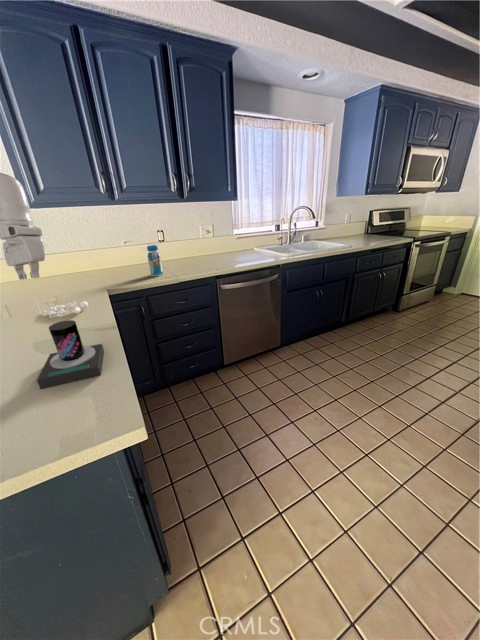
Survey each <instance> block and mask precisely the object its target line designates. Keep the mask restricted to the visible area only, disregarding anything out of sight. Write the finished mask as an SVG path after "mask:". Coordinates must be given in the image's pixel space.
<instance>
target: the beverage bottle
mask: <svg viewBox="0 0 480 640" xmlns="http://www.w3.org/2000/svg"><path fill="white" fill-rule="evenodd" d="M146 249H147V258H148V259H147V262H148V267H149V272H150V276H151V277H161V276H163V275H164V271H163V265H162V259H161V254H160V252H159V246H158V245H157V244H151V245H147V247H146Z"/></svg>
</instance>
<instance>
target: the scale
mask: <svg viewBox="0 0 480 640" xmlns="http://www.w3.org/2000/svg"><path fill="white" fill-rule="evenodd" d="M83 347H84V350H85V351H84V354H83V355H82V356H81V357H79V358H77V359H75V360H71V361H63V360H61V359H60V357H59V354H58V352H52V353H49V355H48V358H47V359H46V361H45V363H44V365H43V367H42V369H41V371H40V373H39V375H38V377H37V379H36V382H37V384H38V386H39V389H40V390H43V389H47V388H52V387H56V386H61V385H65V384H69V383H73V382H77V381H82V380H83V381H84V380H87V379H91V378H95V377H100V376H101V375H102V369H103V363H104V355H105V349H104V345H103V343H99V344H93V345H83Z"/></svg>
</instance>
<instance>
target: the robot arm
mask: <svg viewBox="0 0 480 640" xmlns="http://www.w3.org/2000/svg"><path fill="white" fill-rule="evenodd" d="M30 210H31V207H30V204H29V200H28V196H27V193H26V191H25V188H24V186H23V184H22V183H21V182H20V181H19V180H18V179H17V178H15V177H13V176H11V175H9V174H5V173H3V172H0V240H3V241H4V242H3V243H2V250H3V255H4V259H5V263H6V265H7V266H8V267H13V269H14V271H15V273H16V274H17V277H18V280H21V281H22V280H24V281H25V280H27V279H28V276H27V273H26V272H25V270H24V268H25V267H24V266H25V265H28V267H29V270H30V272H29V275H30V278H31V279H38V278H40V277H41V275H40V262H44V261H45V259H46V253H45V247H44V241H43V238H42V236H43V230H42V229H41V228H40V227H39V226H36V225H35V224H34V220H33V219H32V217H31V215H30V214H31V213H30V212H31V211H30Z"/></svg>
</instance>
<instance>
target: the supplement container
mask: <svg viewBox="0 0 480 640" xmlns="http://www.w3.org/2000/svg"><path fill="white" fill-rule="evenodd" d="M48 330H49V334H50V336H51V338H52V341H53V344H54V347H55V349H56V351H57V352H58V354H59V357H60V359H61V360H63V361H71V360H75V359H77V358H79V357H81V356H82V355H83V354H84V351H85V350H84V347H83V346H84V344H83V342H82V338H81V335H80V332H79V329H78V326H77V322H76V321H75V320H72V319H69V320H61V321H58V322H54V323H53V324H51V325H50V326H48ZM57 352H56V353H57Z"/></svg>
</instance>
